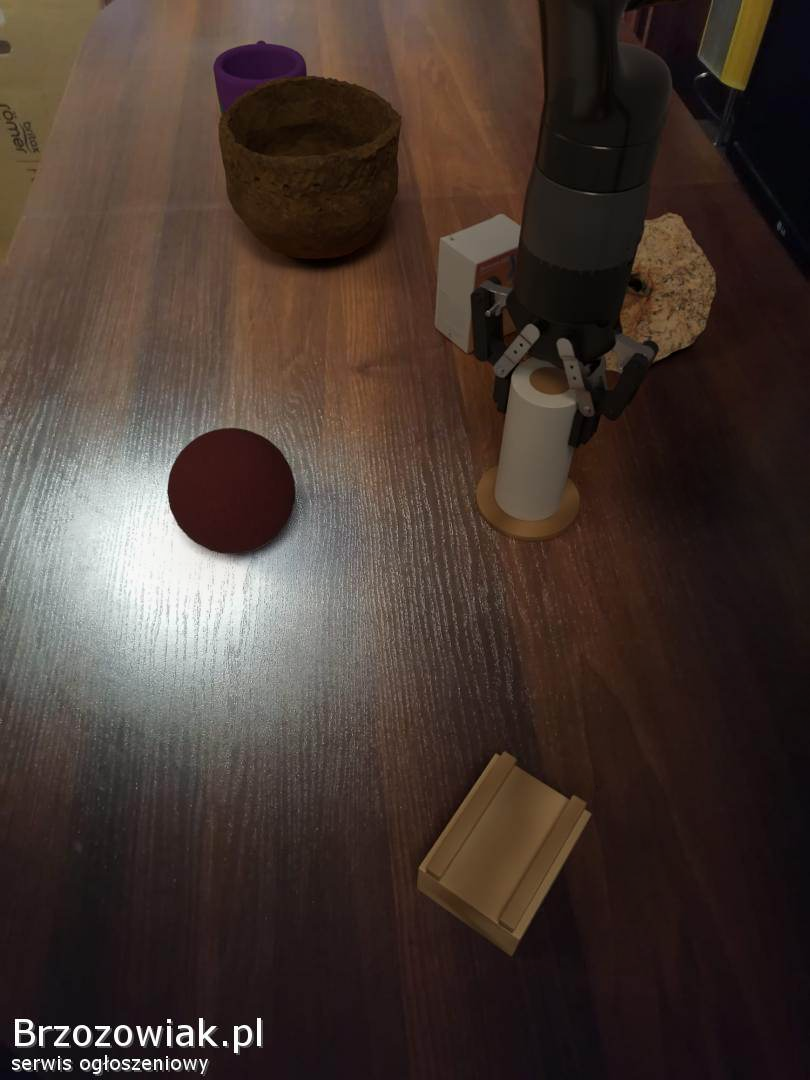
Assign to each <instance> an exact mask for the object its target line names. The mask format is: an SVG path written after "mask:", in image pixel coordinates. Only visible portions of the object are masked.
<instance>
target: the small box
mask: <svg viewBox="0 0 810 1080" xmlns="http://www.w3.org/2000/svg"><path fill="white" fill-rule="evenodd" d="M520 229H521V224H520V225H519V224H518V223H517V222H516V221H514V220H513V219H511V218H510V217H508V216H507V215H505V214H504V213H499V214H497V215H495V216H493V217H490V218H489V219H486V220H484V221H481V222H479V223H476V224H474V225H471V226H469V227H466V228H464V229H461V230H459V231H456V232H453V233H451V234H448V235H444V236H441V237H439V245H438V263H437V276H436V278H437V281H436V293H435V294H436V296H435V310H434V311H435V312H434V328H435V329H437V331H439V332H440V333H441V334H442V335H444V336H445V337H446V338H447V339H448V340H449V341H450V342H452V343H453V344H454V345H455V346H457V347H458V348H459V349H460V350H462V351H463V352H464V353H465V354H470V353H472V352H474V347H473V331H472V315H471V299H470V296H471V293H472V292H474V291H475V290H476V289H477V288H478V287H479V286H480V285H481V284H482V283H483V282H484V281H485V280H487V279H488V278H489V277H490V276H497V277H498V278H499V279H500V280H501V283H502V286H505V287H509V288H513V280H514V272H515V265H516V258H517V251H518V243H519V236H520ZM514 332H517V330H516V328H515V326H514V324H513V321H512V319H511V317H510V315H509V313H508V311H507V308H505V309H504V310H503V333H504V337H505V336H508V335H510V334H512V333H514Z"/></svg>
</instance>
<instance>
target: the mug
mask: <svg viewBox="0 0 810 1080" xmlns="http://www.w3.org/2000/svg"><path fill="white" fill-rule="evenodd" d="M212 66H213V68H212V69H213V75H214V82H215V89H216V94H217V99H218V105H219V110H220V116H222V114H223V113H224V112H225V111H226V110H228V109H229V107H230V106H231V105H232V103H233V102H234V101H235V100H236V98H237V97H238V96H240V95H243V94H244V93H245V92H247V91H248V90H250V89H253V88H256V87H257V86H258V85H260V84H263V83H266V82H268V81H270V80H272V79H274V80H277V79H279V78H283V77H290V76H291V77H299V76H308V73H307V71H308V70H307V62H306V61H305V58H304V57H303V55H302V54H301V53H300V52H299V51H297V50H295V49H293V48H292V47H288V46H285V45H282V44H281V45H280V44H275V43H266V41H264V40H257V42H256V43H249V44H244V45H238V46H235V47H232V48H229V49H227V50H225V51H223V52H221V53H220V54H219V55H218V56H217V57H216V58H215V60H214V63H213V65H212Z"/></svg>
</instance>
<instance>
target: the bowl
mask: <svg viewBox="0 0 810 1080" xmlns="http://www.w3.org/2000/svg"><path fill="white" fill-rule="evenodd" d="M402 125H403V123H402V115H400V114H399V113H398V112H397V111H396V110H395V108H393V106H392V104H391V103H390V102H388V101H387V100H386V99H385V98H384V97H381V96H380V95H379V94H378V93H377V92H376V91H374V90H371V89H367V88H365V87H364V86H361V85H358V84H357V83H350V82H348V81H346V80H338V79H337V78H332V77H328V78H325V77H324V76H317V75H307V76H299V77H291V76H290V77H283V78H279V79H277V80H274V79H272V80H270V81H268V82H266V83H263V84H260V85H258V86H257V87H256V88H253V89H250V90H248V91H247V92H245V93H244V94H243V95H240V96H238V97H237V98H236V100H235V101H234V102H233V103H232V105H231V106H230V107H229V109H228V110H226V111H225V112H224V113H223V114H222V115H220V118H219V121H218V127H217V128H218V141H219V142H218V143H219V147H220V154H221V158H222V159H221V160H222V165H223V168H224V174H225V189H226V194H227V198H228V201H229V202H230V205H231V207H232V209H233V211H234V212H235V214H236V215H237V216H238V217H239V219H240V220H241V221H242V222H243V224H244V225H245V227H246V228H247V229H248V230H249V232H250V233H251V234H252V235H253V236H254V237H255V238H256V239H257V241H259V242H260V243H261V244H262V245H264V246H265V247H266V248H268V249H269V250H271V251H273V253H274V252H275V253H277V254H281V255H284V256H287V257H291V258H297V259H305V260H308V259H309V260H310V259H311V260H320V259H332V258H338V257H343V256H345V255H349V254H351V253H353V252H355V251H356V250H358V249H359V248H361V247H362V246H364V245H366V244H367V243H368V242H369V241H370V240H371V239H372V238H373V237H374V236H375V234H376V233H377V232H378V231H379V229H380V227H381V226H382V225H383V223H384V221H385V220H386V218H387V216H388V214H389V212H390V211H391V209H392V206H393V203H394V202H395V199H396V196H397V194H398V192H399V191H398V190H399V174H400V173H399V172H400V171H399V170H400V168H399V163H398V155H399V142H400V141H399V140H400V135H401V126H402Z"/></svg>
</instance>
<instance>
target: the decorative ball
mask: <svg viewBox="0 0 810 1080" xmlns="http://www.w3.org/2000/svg"><path fill="white" fill-rule="evenodd" d="M167 480H168V481H167V489H166V490H167V491H166V492H167V499H168V505H169V510H170V512H171V514H172V516H173V518H174V521H175V522H176V524H177V526H178V527H179V528H180V530H181V531H182V532H183V533H184V534H185V536H187V537H188V538H189V540H191V541H192V542H194V543H195V544H197V545H198V546H201V547H202V548H205V549H207V550H209V551H212V552H215V553H219V554H228V555H233V554H234V555H236V554H243V553H249V552H253V551H255V550H258V549H260V548H262V547H264V546H265V545H267V544H269V543H271V542H272V541H273V540H274V539H275V538H277V536H278V535H279V534H280V533H281V532H282V531H283V529H284V528H285V527H286V525H288V522H289V519H290V518H291V516H292V513H293V510H294V506H295V503H296V481H295V478H294V474H293V471H292V468H291V465H290V463H289V462H288V460H287V458H286V457H285V455H284V454H283V452H282V451H281V450H280V449H279V448H278V447H277V446H276V445H275V444H274V443H273V442H272V441H270V440H269V439H268V438H266V437H265V436H263V435H261V434H258V433H257V432H254V431H251V430H247V429H244V428H238V427H225V428H223V427H222V428H218V429H213V430H210V431H207V432H205V433H202V434H201V435H199V436H197V437H196V438H194V439H193V440H191V441H190V442H189V443H188V444H187V445H185V446H184V447H183V448H182V449H181V451H180V452H179V453H178V455H177V456H176V459H175V460H174V462H173V464H172V466H171V469H170V471H169V473H168V479H167Z"/></svg>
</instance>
